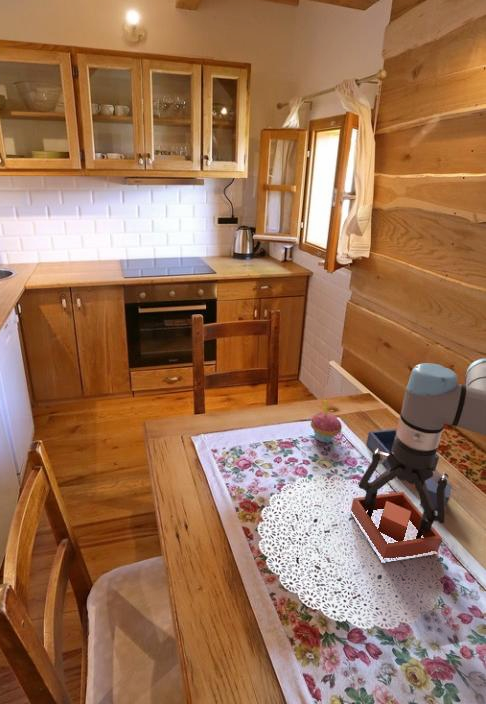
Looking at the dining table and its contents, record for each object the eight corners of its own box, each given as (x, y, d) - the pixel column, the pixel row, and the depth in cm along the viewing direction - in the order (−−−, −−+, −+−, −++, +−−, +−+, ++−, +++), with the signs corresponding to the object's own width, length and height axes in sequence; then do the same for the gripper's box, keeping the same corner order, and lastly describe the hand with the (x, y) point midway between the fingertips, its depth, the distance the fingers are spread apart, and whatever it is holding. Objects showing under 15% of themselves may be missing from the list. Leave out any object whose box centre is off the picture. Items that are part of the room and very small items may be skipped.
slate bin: (435, 471, 106) (439, 457, 104) (392, 476, 103) (395, 461, 102) (405, 440, 118) (408, 427, 116) (365, 444, 115) (368, 431, 113)
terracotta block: (406, 529, 87) (411, 511, 86) (401, 545, 84) (407, 527, 82) (382, 518, 90) (386, 500, 88) (377, 533, 86) (381, 515, 84)
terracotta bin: (437, 554, 82) (442, 538, 81) (381, 564, 80) (386, 547, 78) (399, 506, 94) (403, 491, 92) (349, 513, 91) (353, 498, 90)
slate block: (445, 501, 96) (451, 484, 94) (443, 515, 92) (449, 498, 90) (422, 492, 99) (427, 475, 97) (419, 505, 95) (424, 488, 93)
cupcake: (303, 430, 120) (308, 395, 115) (328, 426, 122) (334, 392, 118) (318, 449, 112) (324, 412, 108) (345, 444, 114) (352, 408, 110)
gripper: (353, 429, 81) (336, 514, 89) (481, 475, 70) (448, 568, 78) (363, 412, 87) (346, 494, 95) (482, 452, 76) (452, 541, 84)
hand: (392, 527), depth 86 cm, fingers open, 9 cm apart
